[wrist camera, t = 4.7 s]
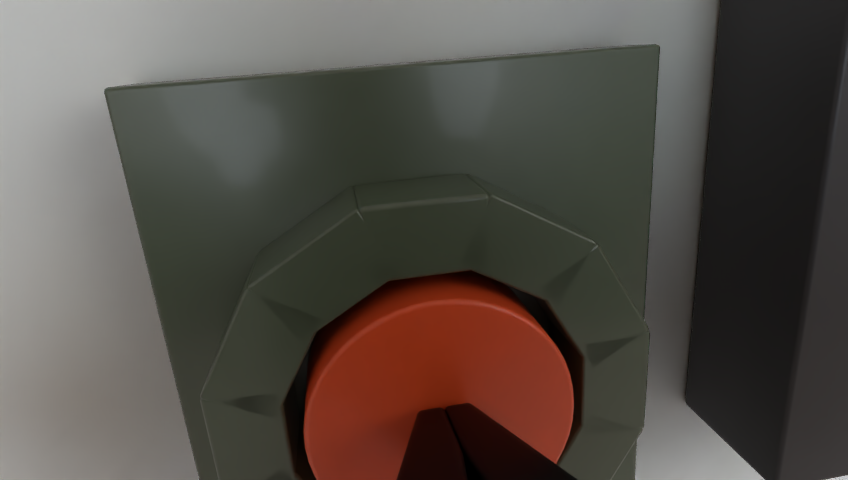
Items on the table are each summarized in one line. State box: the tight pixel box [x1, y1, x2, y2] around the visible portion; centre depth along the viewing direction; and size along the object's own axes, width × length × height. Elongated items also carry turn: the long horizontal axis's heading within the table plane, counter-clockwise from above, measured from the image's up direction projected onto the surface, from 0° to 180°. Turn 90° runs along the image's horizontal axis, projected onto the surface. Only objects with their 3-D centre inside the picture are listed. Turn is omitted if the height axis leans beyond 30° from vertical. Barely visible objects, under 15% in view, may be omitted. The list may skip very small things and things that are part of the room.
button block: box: [104, 44, 660, 480], centre depth 11 cm, size 11×9×3 cm
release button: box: [303, 270, 574, 480], centre depth 10 cm, size 4×4×2 cm
